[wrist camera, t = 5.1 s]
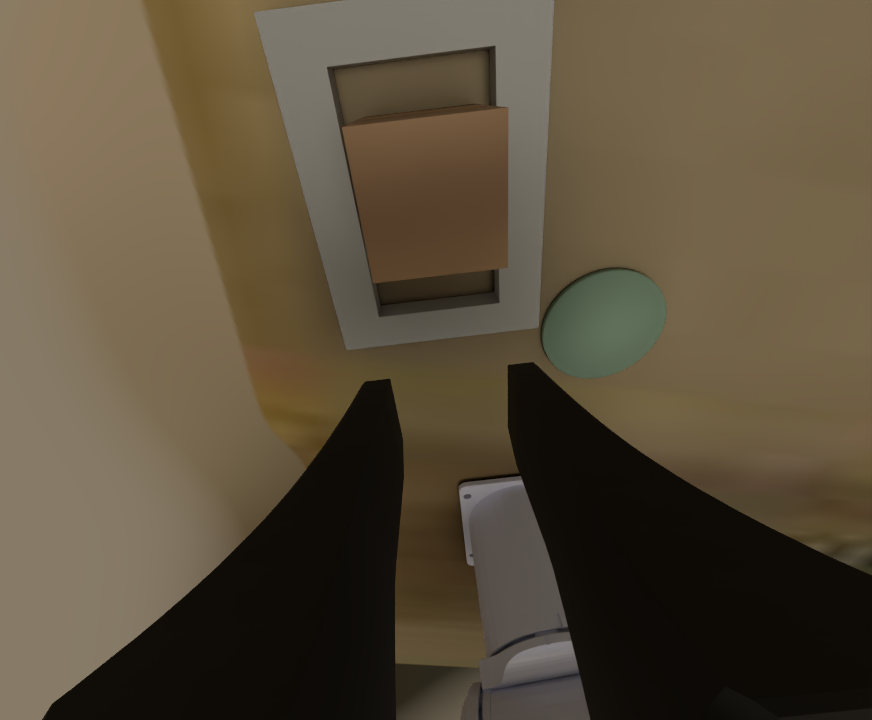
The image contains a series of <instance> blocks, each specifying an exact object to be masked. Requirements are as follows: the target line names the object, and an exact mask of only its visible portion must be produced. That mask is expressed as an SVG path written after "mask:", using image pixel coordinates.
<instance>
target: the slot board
mask: <svg viewBox="0 0 872 720" xmlns="http://www.w3.org/2000/svg"><path fill="white" fill-rule="evenodd" d="M254 15H255V19H256V22H257V26H258V30H259V33H260V37H261V40H262V44H263V48H264V51H265V55H266V59H267V62H268V66H269V70H270V73H271V77H272V81H273V84H274V88H275V91H276V95H277V99H278V102H279V106H280V110H281V113H282V117H283V121H284V124H285V128H286V132H287V135H288V139H289V142H290V146H291V150H292V153H293V157H294V161H295V164H296V168H297V172H298V175H299V179H300V183H301V186H302V190H303V193H304V197H305V201H306V204H307V208H308V212H309V215H310V219H311V223H312V226H313V230H314V234H315V237H316V241H317V244H318V248H319V252H320V255H321V259H322V263H323V266H324V270H325V274H326V277H327V281H328V285H329V288H330V292H331V296H332V299H333V303H334V306H335V310H336V314H337V317H338V321H339V325H340V328H341V332H342V336H343V339H344V343H345V347H346V350H353V349H362V348H370V347H379V346H387V345H396V344H405V343H413V342H422V341H430V340H439V339H447V338H456V337H464V336H473V335H481V334H490V333H499V332H507V331H516V330H524V329H533V328H539V310H540V289H541V268H542V247H543V225H544V204H545V183H546V162H547V141H548V120H549V99H550V78H551V57H552V36H553V15H554V0H343V1H336V2H328V3H320V4H312V5H305V6H297V7H289V8H282V9H274V10H266V11H258V12H254ZM488 49H489V57H490V101H491V106H500V107H508V268H503V269H495V270H494V280H495V292H491V293H482V294H474V295H465V296H457V297H448V298H440V299H431V300H423V301H415V302H406V303H398V304H389V305H380V300H379V295H378V290H377V285H376V283H374V284H373V280H372V275H371V270H370V265H369V260H368V255H367V250H366V245H365V240H364V235H363V230H362V225H361V220H360V215H359V211H358V206H357V201H356V196H355V191H354V186H353V181H352V176H351V171H350V166H349V161H348V156H347V151H346V146H345V141H344V136H343V131H342V127H343V126H344V122H343V117H342V112H341V107H340V102H339V97H338V92H337V87H336V82H335V77H334V73H333V69H338V68H346V67H354V66H362V65H370V64H378V63H386V62H394V61H401V60H409V59H417V58H425V57H433V56H441V55H449V54H457V53H464V52H472V51H480V50H488Z"/></svg>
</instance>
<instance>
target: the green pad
mask: <svg viewBox="0 0 872 720" xmlns="http://www.w3.org/2000/svg"><path fill="white" fill-rule="evenodd" d="M665 319H666V302H665V299H664V296H663V294H662V292H661V290H660V288H659V287H658V286H657V285H656V284H655V283H654V282H653V281H652V280H651V279H649V278H648V277H647V276H645V275H643V274H641V273H640V272H637V271H634V270H630V269H626V268H609V269H603V270H599V271H596V272H592V273H590V274H587V275H585V276H583V277H581V278H579V279H578V280H576V281H574V282H573V283H572V284H570V285H569V286H568V287H566V288H565V289H564V290H563V291H562V292H561V293H560V294H559V295H558V296H557V297H556V298H555V300H554V301H553V302H552V304H551V305H550V307H549V309H548V311H547V313H546V315H545V317H544V321H543V324H542V331H541V339H542V345H543V348H544V350H545V352H546V354H547V356H548V358H549V360H550V361H551V362H552V364H553V365H554V366H555V367H556V368H558V369H559V370H560V371H562V372H564V373H566V374H568V375H571V376H574V377H579V378H599V377H604V376H608V375H612V374H615V373H617V372H620V371H622V370H624V369H626V368H628V367H629V366H631V365H633V364H634V363H635V362H637V361H638V360H640V359H641V358H642V357H643V356H644V355H645V354H646V353H647V352H648V351H649V350H650V349H651V348H652V346H653V345H654V344H655V343H656V341H657V339H658V338H659V336H660V334H661V332H662V330H663V327H664V324H665Z"/></svg>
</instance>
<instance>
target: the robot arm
mask: <svg viewBox="0 0 872 720" xmlns="http://www.w3.org/2000/svg"><path fill="white" fill-rule="evenodd" d="M508 429H509V434H510V438H511V443H512V447H513V452H514V456H515V460H516V464H517V467H518V470H519V473H520V475H521V476H517V477H508V478H499V479H490V480H481V481H472V482H465V483H462V484H460V486H459V496H460V505H461V514H462V523H463V532H464V541H465V550H466V559H467V564H469V565H471V566H474V568H475V576H476V583H477V591H478V598H479V605H480V613H481V620H482V628H483V635H484V642H485V650H486V657H487V658H485V659H481V660H479V667H480V675H481V682H476V683H473V684H472V685H471V686H470V689H469V691H468V695H467V697H466V699H465V701H464V703H463V706H462V711H461V720H872V575H870V574H867V573H865V572H863V571H860V570H858V569H856V568H854V567H851V566H849V565H847V564H844V563H842V562H840V561H838V560H835V559H833V558H831V557H829V556H827V555H825V554H823V553H821V552H819V551H816V550H814V549H812V548H810V547H808V546H806V545H804V544H802V543H800V542H798V541H796V540H794V539H792V538H790V537H788V536H786V535H784V534H782V533H780V532H778V531H776V530H774V529H772V528H770V527H768V526H766V525H764V524H762V523H760V522H758V521H756V520H754V519H752V518H750V517H748V516H747V515H745V514H743V513H741V512H739V511H737V510H735V509H734V508H732V507H730V506H728V505H726V504H725V503H723V502H721V501H719V500H718V499H716V498H714V497H712V496H710V495H709V494H707V493H705V492H703V491H701V490H700V489H698V488H696V487H695V486H693V485H691V484H690V483H688V482H686V481H685V480H683V479H681V478H680V477H678V476H676V475H675V474H673V473H672V472H670V471H669V470H667V469H666V468H664V467H663V466H661V465H659V464H658V463H656V462H655V461H653V460H652V459H650V458H649V457H647V456H646V455H644V454H643V453H641V452H640V451H638V450H637V449H635V448H634V447H633V446H631V445H630V444H628V443H627V442H626V441H624V440H623V439H622V438H620V437H619V436H618V435H616V434H615V433H614V432H612V431H611V430H610V429H609V428H607V427H606V426H605V425H604V424H602V423H601V422H600V421H599V420H597V419H596V418H595V417H594V416H593V415H591V414H590V413H589V412H588V411H587V410H585V409H584V408H583V407H582V406H581V405H580V404H578V403H577V402H576V401H575V400H574V399H573V398H572V397H570V396H569V395H568V394H567V393H566V392H565V391H564V390H563V389H562V388H560V387H559V386H558V385H557V384H556V383H555V382H554V381H553V380H552V379H551V378H550V377H549V376H548V375H547V374H546V373H544V372H543V371H542V370H541V369H540V368H539V367H538V366H537V365H536V364H535V363H533V362H531V363H522V364H513V365H508ZM403 480H404V461H403V438H402V433H401V428H400V423H399V419H398V414H397V409H396V404H395V400H394V395H393V390H392V385H391V381H390V379H384V380H375V381H367V382H365V383H364V384H363V385H362V386H361V388H360V390H359V391H358V393H357V395H356V397H355V398H354V400H353V402H352V403H351V405H350V407H349V408H348V410H347V411H346V413H345V415H344V416H343V418H342V419H341V421H340V422H339V424H338V425H337V427H336V428H335V430H334V431H333V433H332V434H331V436H330V437H329V439H328V440H327V442H326V443H325V445H324V446H323V448H322V449H321V450H320V452H319V453H318V454H317V456H316V457H315V458H314V460H313V461H312V462H311V464H310V465H309V466H308V468H307V469H306V470H305V472H304V473H303V474H302V476H301V477H300V478H299V479H298V481H297V482H296V483H295V485H294V486H293V487H292V488H291V489H290V491H289V492H288V493H287V494H286V495H285V496H284V498H283V499H282V500H281V501H280V502H279V504H278V505H277V506H276V507H275V508H274V509H273V510H272V511H271V512H270V514H269V515H268V516H267V517H266V518H265V519H264V520H263V521H262V522H261V523H260V524H259V525H258V526H257V527H256V529H255V530H254V531H253V532H252V533H251V534H250V535H249V536H248V537H247V538H246V539H245V540H244V541H243V542H242V543H241V544H240V545H239V546H238V547H237V548H236V549H235V550H234V551H233V552H232V553H231V554H230V555H229V556H228V557H227V558H226V559H225V560H224V561H223V562H222V563H221V564H220V565H219V566H218V567H217V568H215V569H214V570H213V571H212V572H211V573H210V574H209V575H208V576H207V577H206V578H205V579H203V580H202V581H201V582H200V583H199V584H198V585H197V586H196V587H195V588H194V589H192V590H191V591H190V592H189V593H188V594H187V595H186V596H185V597H183V598H182V599H181V600H180V601H179V602H178V603H177V604H175V605H174V606H173V607H172V608H171V609H170V610H168V611H167V612H166V613H165V614H164V615H163V616H162V617H160V618H159V619H158V620H157V621H156V622H154V623H153V624H152V625H151V626H150V627H148V628H147V629H146V630H145V631H144V632H142V633H141V634H140V635H139V636H138V637H137V638H135V639H134V640H133V641H131V642H130V643H129V644H128V645H126V646H125V647H124V648H123V649H121V650H120V651H119V652H118V653H116V654H115V655H114V656H113V657H111V658H110V659H109V660H107V661H106V662H105V663H104V664H102V665H101V666H100V667H99V668H97V669H96V670H95V671H94V672H92V673H91V674H90V675H89V676H87V677H86V678H85V679H84V680H82V681H81V682H80V683H79V684H77V685H76V686H75V687H74V688H72V689H71V690H70V691H68V692H67V693H66V694H64V695H63V696H62V697H61V698H59V699H58V700H57V701H55V702H54V703H53V704H52V705H51V707H50V708H49V710H48V711H47V713H46V714H45V716H44V718H43V719H42V720H396V692H395V574H396V559H397V548H398V537H399V526H400V515H401V504H402V492H403Z"/></svg>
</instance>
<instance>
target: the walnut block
mask: <svg viewBox="0 0 872 720" xmlns="http://www.w3.org/2000/svg"><path fill="white" fill-rule="evenodd" d="M342 131H343V136H344V141H345V146H346V151H347V156H348V161H349V166H350V171H351V176H352V181H353V186H354V191H355V196H356V201H357V206H358V211H359V215H360V220H361V225H362V230H363V235H364V240H365V245H366V250H367V255H368V260H369V265H370V270H371V275H372V280H373V284H374V283H382V282H391V281H400V280H408V279H417V278H426V277H434V276H443V275H451V274H460V273H469V272H477V271H486V270H495V269H503V268H508V107H500V106H490V105H480V104H470V105H462V106H453V107H445V108H436V109H428V110H420V111H411V112H403V113H395V114H386V115H378V116H370V117H364V118H362V119H360V120H357V121H355V122H353V123H350V124H348V125H346V126H343V127H342Z"/></svg>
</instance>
